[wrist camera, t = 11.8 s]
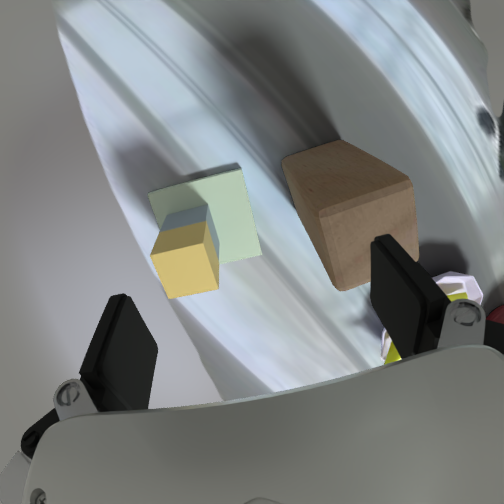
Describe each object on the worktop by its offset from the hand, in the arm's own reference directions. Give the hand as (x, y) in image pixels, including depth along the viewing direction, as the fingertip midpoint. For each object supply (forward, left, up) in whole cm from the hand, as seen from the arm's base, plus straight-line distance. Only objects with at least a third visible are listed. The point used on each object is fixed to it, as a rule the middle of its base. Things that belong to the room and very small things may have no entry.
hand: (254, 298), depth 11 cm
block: (+8, +11, -34) cm, 37 cm away
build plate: (+11, -7, -34) cm, 37 cm away
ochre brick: (+11, -9, -27) cm, 31 cm away
